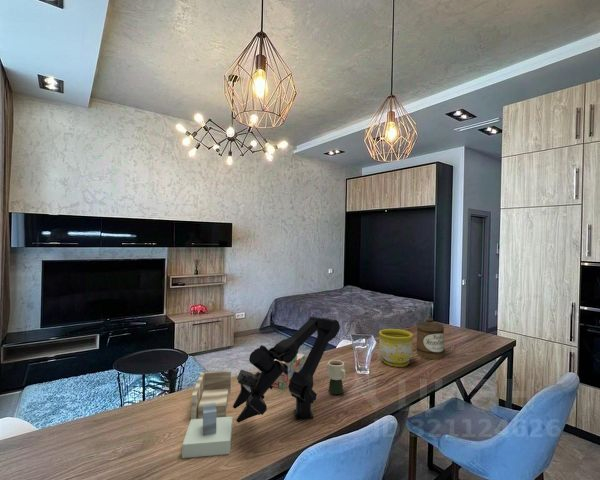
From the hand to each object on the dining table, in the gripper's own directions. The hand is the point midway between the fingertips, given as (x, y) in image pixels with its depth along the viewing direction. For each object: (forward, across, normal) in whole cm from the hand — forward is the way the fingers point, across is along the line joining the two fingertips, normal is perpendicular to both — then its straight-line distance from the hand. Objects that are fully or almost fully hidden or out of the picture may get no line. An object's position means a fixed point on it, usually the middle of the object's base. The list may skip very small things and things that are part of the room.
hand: (235, 414), depth 106 cm
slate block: (+8, 0, -4) cm, 9 cm away
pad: (+11, 0, -1) cm, 11 cm away
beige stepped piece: (+9, -25, +1) cm, 27 cm away
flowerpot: (-60, -41, +71) cm, 101 cm away
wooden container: (-78, -46, +90) cm, 128 cm away
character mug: (-27, -19, +38) cm, 50 cm away
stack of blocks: (-16, -38, +27) cm, 50 cm away
